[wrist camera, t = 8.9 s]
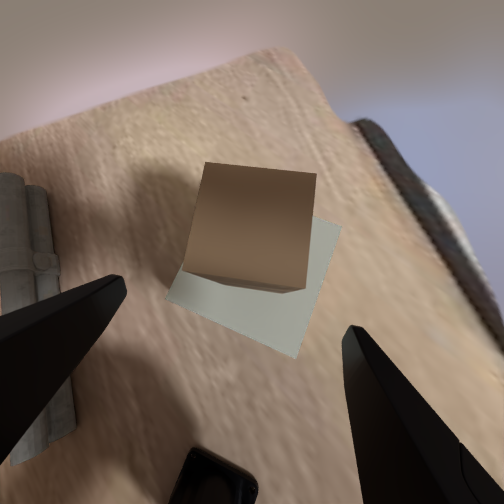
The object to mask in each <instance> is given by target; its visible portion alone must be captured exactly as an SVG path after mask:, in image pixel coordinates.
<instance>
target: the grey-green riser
mask: <svg viewBox="0 0 504 504" xmlns="http://www.w3.org/2000/svg"><path fill="white" fill-rule="evenodd" d="M341 228H342V226H340V225H337V224H334V223H331V222H328V221H326V220H323V219H320V218H317V217H315V216H313V218H312V228H311V239H310V249H309V260H308V270H307V281H306V289H302V290H297V291H293V292H288V293H284V294H280V293H273V292H266V291H260V290H253V289H246V288H240V287H233V286H226V285H222V284H219V283H217V282H214V281H211V280H208V279H205V278H202V277H199V276H196V275H193V274H190V273H187V272H185V271H182V266H183V263H182V265H181V267H180V269H179V271H178V273H177V275H176V277H175V279H174V281H173V283H172V285H171V287H170V289H169V291H168V293H167V295H166V298H165V299H166V300H168V301H170V302H172V303H175V304H177V305H179V306H181V307H183V308H185V309H188V310H190V311H192V312H194V313H196V314H199V315H201V316H203V317H205V318H207V319H209V320H212V321H214V322H216V323H218V324H220V325H223V326H225V327H227V328H229V329H231V330H234V331H236V332H238V333H240V334H242V335H244V336H247V337H249V338H251V339H253V340H255V341H258V342H260V343H262V344H264V345H266V346H268V347H271V348H273V349H275V350H277V351H279V352H282V353H284V354H286V355H288V356H290V357H293V358H295V359H296V358H297V355H298V352H299V349H300V346H301V343H302V340H303V338H304V335H305V332H306V329H307V326H308V323H309V320H310V317H311V314H312V312H313V309H314V306H315V303H316V300H317V297H318V294H319V291H320V289H321V286H322V283H323V280H324V277H325V274H326V271H327V268H328V266H329V263H330V260H331V257H332V254H333V251H334V248H335V245H336V242H337V240H338V237H339V234H340V231H341ZM183 262H184V261H183Z"/></svg>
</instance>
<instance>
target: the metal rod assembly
mask: <svg viewBox="0 0 504 504" xmlns="http://www.w3.org/2000/svg"><path fill="white" fill-rule="evenodd" d="M58 276H60V265H59V260H58V256H57V255H56V254H54V249H53V242H52V234H51V226H50V218H49V209H48V201H47V193H46V190H45V189H44V188H42V187H40V186H35V185H26V186H25V182H24V179H23V178H22V177H21V176H19V175H16V174H13V173H6V172H3V173H0V289H1V306H2V315H4V314H7V313H10V312H12V311H15V310H17V309H20V308H23V307H25V306H28V305H31V304H33V303H36V302H39V301H41V300H44V299H47V298H49V297H52V296H55V295H57V294H60V289H59V281H58ZM75 429H76V419H75V411H74V403H73V395H72V387H71V378H70V376H69V377H68V378H67V380H66V381H65V382H64V383H63V385H62V386H61V387H60V389H59V390H58V391H57V393H56V394H55V395H54V396H53V398H52V399H51V400H50V402H49V403H48V404H47V405H46V407H45V408H44V409H43V411H42V412H41V413H40V415H39V416H38V417H37V418H36V420H35V421H34V422H33V424H32V425H31V426H30V427H29V429H28V430H27V431H26V433H25V434H24V435H23V437H22V438H21V439H20V440H19V442H18V443H17V444H16V446H15V447H14V448H13V450H12V451H11V452H10V462H11V466H14V465H17V464H19V463H22V462H24V461H26V460H29V459H31V458H33V457H35V456H37V455H38V454H40V453H41V452H43V451H44V450H45V449H47V448H48V447H49V443H51V442H54V441H56V440H58V439H60V438H62V437H64V436H65V435H67V434H68V433H70V432H72V431H73V430H75Z"/></svg>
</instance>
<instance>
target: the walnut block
mask: <svg viewBox="0 0 504 504" xmlns="http://www.w3.org/2000/svg"><path fill="white" fill-rule="evenodd" d="M316 176H317V174H315V173H306V172H296V171H287V170H277V169H267V168H258V167H248V166H239V165H229V164H220V163H210V162H205V166H204V170H203V175H202V180H201V184H200V189H199V193H198V198H197V202H196V207H195V212H194V216H193V221H192V225H191V230H190V234H189V239H188V243H187V248H186V253H185V257H184V262H183V266H182V271H185V272H187V273H190V274H193V275H196V276H199V277H202V278H205V279H208V280H211V281H214V282H217V283H219V284H222V285H226V286H233V287H240V288H246V289H253V290H260V291H266V292H273V293H280V294H284V293H288V292H293V291H297V290H302V289H306V281H307V270H308V260H309V249H310V239H311V228H312V218H313V207H314V197H315V186H316Z"/></svg>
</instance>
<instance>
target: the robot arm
mask: <svg viewBox="0 0 504 504" xmlns="http://www.w3.org/2000/svg"><path fill="white" fill-rule="evenodd" d="M126 295H127V289H126V285H125V282H124V278H123V277H122V276H119V275H114V274H111V275H108V276H105V277H102V278H100V279H97V280H94V281H92V282H89V283H86V284H84V285H81V286H79V287H76V288H73V289H71V290H68V291H65V292H63V293H60V294H57V295H55V296H52V297H49V298H47V299H44V300H41V301H39V302H36V303H33V304H31V305H28V306H25V307H23V308H20V309H17V310H15V311H12V312H10V313H7V314H4V315H2V316H0V465H1V464H2V462H3V461H4V460H5V459H6V457H7V456H8V455H9V453H10V452H11V451H12V450H13V448H14V447H15V446H16V444H17V443H18V442H19V440H20V439H21V438H22V437H23V435H24V434H25V433H26V431H27V430H28V429H29V427H30V426H31V425H32V424H33V422H34V421H35V420H36V418H37V417H38V416H39V415H40V413H41V412H42V411H43V409H44V408H45V407H46V405H47V404H48V403H49V402H50V400H51V399H52V398H53V396H54V395H55V394H56V393H57V391H58V390H59V389H60V387H61V386H62V385H63V383H64V382H65V381H66V380H67V378H68V377H69V376H70V374H71V373H72V372H73V370H74V369H75V368H76V367H77V365H78V364H79V363H80V361H81V360H82V359H83V358H84V356H85V355H86V354H87V352H88V351H89V350H90V348H91V347H92V346H93V345H94V343H95V342H96V341H97V339H98V338H99V337H100V335H101V334H102V333H103V331H104V330H105V329H106V327H107V326H108V324H109V322H110V321H111V319H112V318H113V316H114V315H115V313H116V311H117V310H118V308H119V307H120V305H121V303H122V302H123V300H124V299H125V297H126ZM342 359H343V377H344V389H345V396H346V402H347V408H348V414H349V420H350V426H351V432H352V438H353V444H354V450H355V456H356V462H357V468H358V474H359V480H360V486H361V492H362V498H363V504H504V491H503V490H502V488H501V487H500V486H499V485H498V484H497V483H496V482H495V481H494V479H493V478H492V477H491V476H490V475H489V474H488V473H487V471H486V470H485V469H484V468H483V467H482V466H481V465H480V463H479V462H478V461H477V460H476V459H475V458H474V456H473V455H472V454H471V453H470V452H469V451H468V449H467V448H466V447H465V446H464V445H463V444H462V443H460V442H459V439H458V438H457V437H456V436H455V434H454V433H453V432H452V431H451V430H450V429H449V427H448V426H447V425H446V424H445V423H444V422H443V420H442V419H441V418H440V417H439V416H438V415H437V413H436V412H435V411H434V410H433V409H432V407H431V406H430V405H429V404H428V403H427V402H426V400H425V399H424V398H423V397H422V396H421V395H420V393H419V392H418V391H417V390H416V389H415V388H414V386H413V385H412V384H411V383H410V382H409V381H408V379H407V378H406V377H405V376H404V375H403V374H402V372H401V371H400V370H399V369H398V368H397V367H396V365H395V364H394V363H393V362H392V361H391V360H390V358H389V357H388V356H387V355H386V354H385V353H384V351H383V350H382V349H381V348H380V347H379V345H378V344H377V343H376V342H375V341H374V340H373V338H372V337H371V336H370V335H369V334H368V333H367V331H366V330H365V329H364V328H363V327H360V326H355V325H350V326H349V328H348V329H347V331H346V333H345V335H344V337H343V339H342ZM191 454H194V455H195V456H196V457H195V458H193V457H192V455H191ZM250 487H254V488H255V489H254V490H251V489H250ZM257 495H258V483H257V481H256V480H255V479H253V478H251V477H249V476H247V475H245V474H244V473H242V472H240V471H238V470H236V469H234V468H233V467H231V466H229V465H227V464H225V463H223V462H222V461H220V460H218V459H216V458H214V457H212V456H211V455H209V454H207V453H205V452H203V451H201V450H199V449H198V448H195V447H194V448H192V449H190V451H189V453H188V455H187V458H186V460H185V462H184V465H183V467H182V470H181V472H180V475H179V477H178V480H177V482H176V485H175V487H174V489H173V492H172V494H171V497H170V499H169V502H168V504H255V501H256V498H257Z"/></svg>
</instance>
